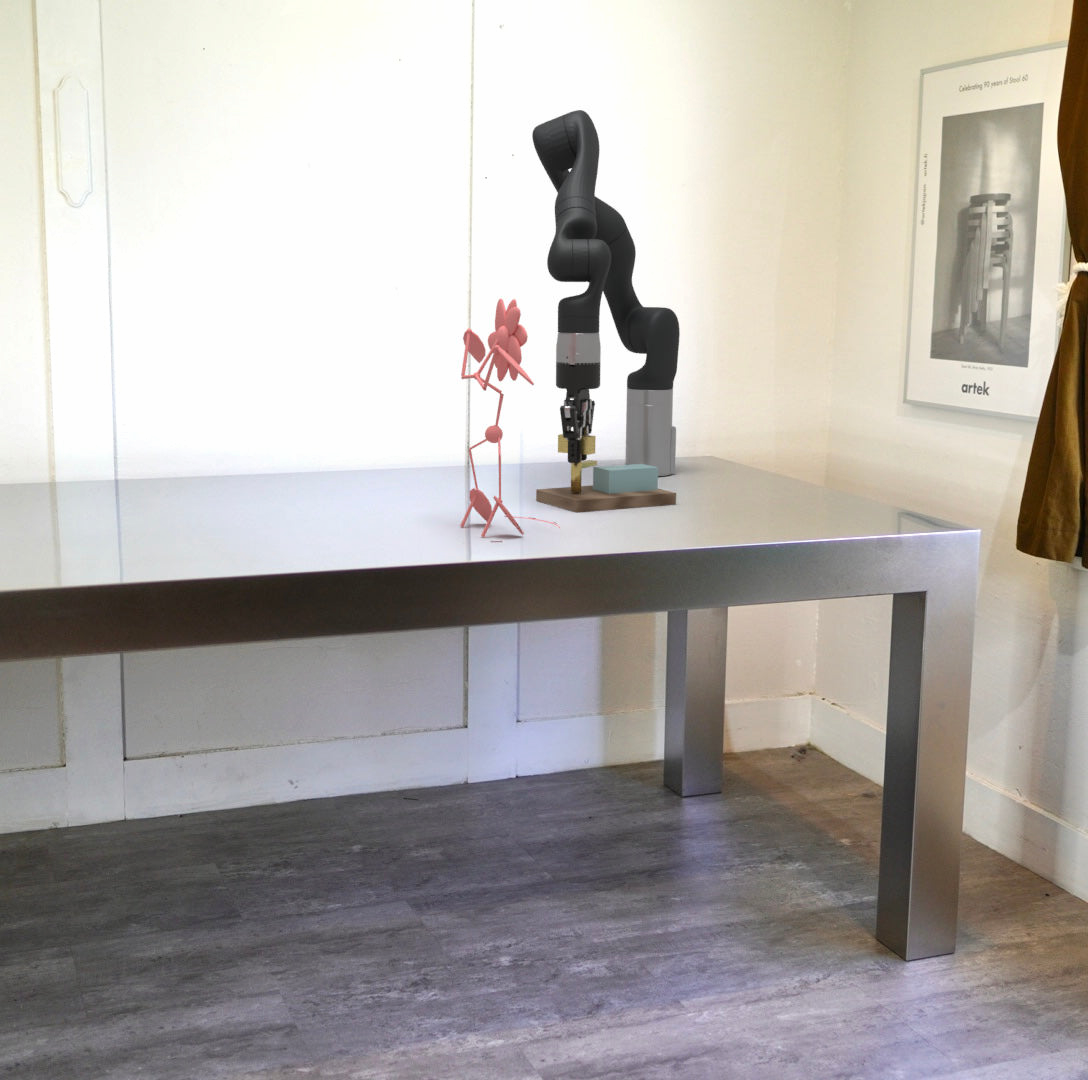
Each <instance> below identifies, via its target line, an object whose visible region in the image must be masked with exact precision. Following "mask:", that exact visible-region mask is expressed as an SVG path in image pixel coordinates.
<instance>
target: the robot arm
mask: <svg viewBox="0 0 1088 1080" xmlns="http://www.w3.org/2000/svg"><path fill="white" fill-rule="evenodd" d="M531 136H532V142H533V147H534V149H535V152H536V154H537V157H538V159H539V161H540V163H541V165H542V167H543V169H544V170H545V172H546V174H547V176H548V177H549V181H550V182H551V183H552V185H553V187H554V189H555V190H556V193H557V195H556V197H555V202H554V218H555V219H554V221H555V233H554V237H553V239H552V242H551V245H550V247H549V250H548V255H547V260H546V261H547V263H546V265H547V266H546V267H547V269H548V273H549V275H550V276H551V277H552V278H553V279H554V280H555V281H557V282H559V283H560V282H561V283H588V286H587V289H586V290H585V291H584V292H583V293H580V294H576V295H572V296H567V297H564V298H562V299H560V300H559V302H558V306H557V337H556V345H555V349H556V350H555V352H556V353H555V386H556V388H558V389H560V390H564V389H565V390H566V393H565V394H566V396H565V399H563V405H560V407H559V411H560V419H561V420H560V421H561V428H562V429H561V430H562V434H563V437H564V438H566V440H567V441H568V453H567V462H568V463H570V464H571V463H580V462H581V439H582V435H592V431H593V421H594V412H595V406H596V402H595V400H592V399H591V396H590V390H596V389H598V388H600V387H601V356H602V355H601V353H602V352H601V348H602V347H601V340H600V339H601V338H600V312H601V301H602V296H603V295H604V298H605V300H606V303H607V305H608V307H609V311H610V313H611V317H612V320H613V322H614V326H615V329H616V332H617V334H618V336H619V339H620V341H621V343H622V345H623V347H624V348H626V350H627V351H629V352H631V353H634V354H640V355H642V354H643V355H644V354H645V355H646V357H645V358H646V359H645V361H644V365H642V366H641V368H639V369H638V370H635V371H632V372H631V373H629V374H628V375H627V377H626V414H625V415H626V417H625V418H626V420H625V421H626V424H625V462H624V465H631V464H645V465H649V466H654V467H658V477H665V476H669V475H675V474H676V448H677V428H676V426H673V403H674V401H673V400H674V399H673V398H674V382H675V378H676V376H677V375H676V374H677V371H678V361H679V360H678V359H679V346H680V335H681V334H680V323H679V319H678V316H677V315H676V313H675V311H674V310H672V309H671V308H669V307H662V306H657V307H655V306H643V305H642V304H641V302H640V300H639V298H638V296H637V293H636V291H635V289H634V285H633V273H634V268H635V263H636V255H637V254H636V246H635V245H636V244H635V242H634V239H633V237H632V234H631V232H630V230H629V228H628V224H627V223H626V221H625V219H624V218H623V217H624V216H622V215H621V214H620V212H619V211H618V210H616V209H615V208H614V207H613V206H611V205H610V204H608V203H607V202H605V201H603V200H602V199H601V198H599V197H597V196H596V185H597V179H598V173H599V172H598V171H599V162H600V161H599V160H600V139H599V134H598V131H597V129H596V126H595V124H594V122H593V119H592V118H591V115H589V114H588V113H587V112H586V111H584V110H582V109H580V110H577V109H576V110H573V111H569V112H567V113H565V114H563V115H560V116H558V117H555V118H553V119H551V120H547V121H545V122H542V123H540V124H538V125H536V126H535V127H534V128H533V130H532V134H531ZM569 170H570V171H569ZM587 459H588V455H585V454H582V461H587Z"/></svg>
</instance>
